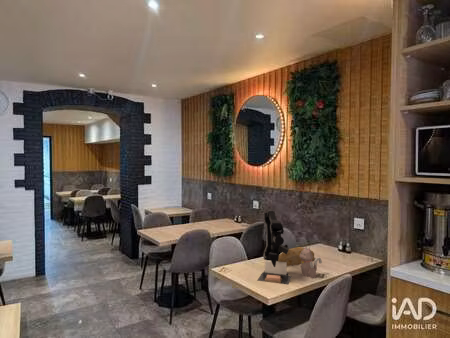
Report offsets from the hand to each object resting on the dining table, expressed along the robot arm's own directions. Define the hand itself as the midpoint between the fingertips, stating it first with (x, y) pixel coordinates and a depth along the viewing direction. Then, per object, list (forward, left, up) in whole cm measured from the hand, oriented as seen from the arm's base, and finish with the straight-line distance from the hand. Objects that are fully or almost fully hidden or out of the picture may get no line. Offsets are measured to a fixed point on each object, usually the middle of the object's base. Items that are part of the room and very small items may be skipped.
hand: (275, 264), depth 208 cm
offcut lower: (+8, 0, -8) cm, 11 cm away
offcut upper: (+8, 0, -7) cm, 11 cm away
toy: (-14, +22, -9) cm, 28 cm away
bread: (-41, +9, -10) cm, 43 cm away
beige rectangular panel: (0, 0, -8) cm, 8 cm away
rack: (+3, 0, -9) cm, 10 cm away
